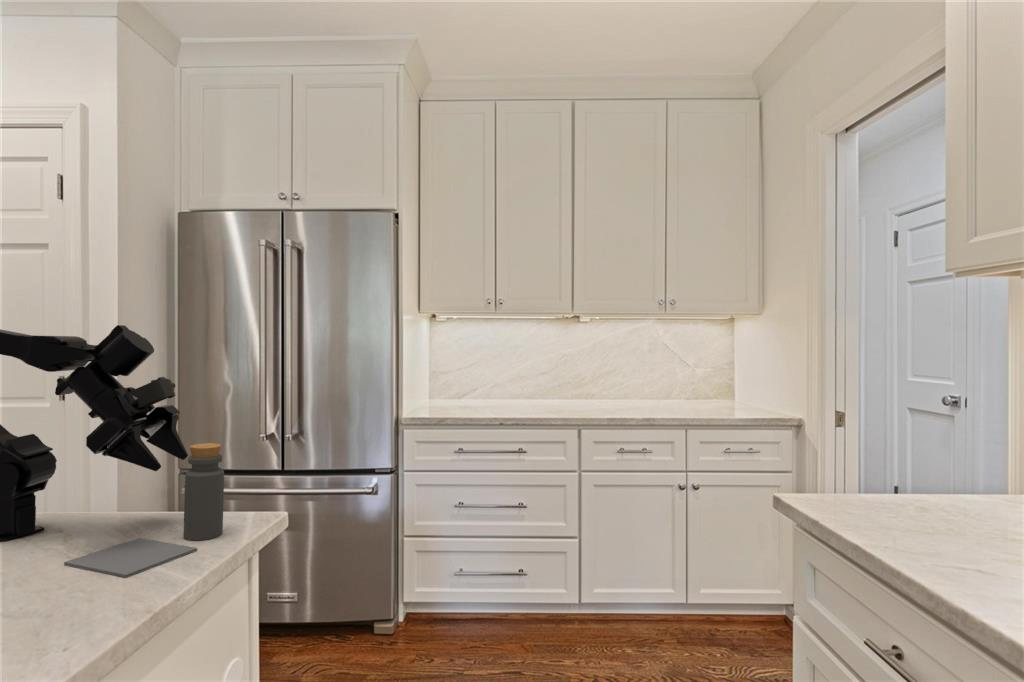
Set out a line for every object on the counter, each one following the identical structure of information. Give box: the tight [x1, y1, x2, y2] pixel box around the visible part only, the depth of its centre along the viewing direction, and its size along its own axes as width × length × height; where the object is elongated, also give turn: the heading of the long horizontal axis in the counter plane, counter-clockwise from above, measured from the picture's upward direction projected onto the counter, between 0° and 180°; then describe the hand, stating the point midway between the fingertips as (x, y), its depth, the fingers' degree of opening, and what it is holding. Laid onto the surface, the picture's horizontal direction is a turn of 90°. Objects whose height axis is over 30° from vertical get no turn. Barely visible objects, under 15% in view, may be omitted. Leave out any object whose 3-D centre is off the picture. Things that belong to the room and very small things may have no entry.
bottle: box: [183, 442, 225, 541], centre depth 103 cm, size 6×6×15 cm
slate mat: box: [63, 537, 198, 579], centre depth 92 cm, size 12×12×1 cm
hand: (172, 463), depth 103 cm, fingers open, 9 cm apart
